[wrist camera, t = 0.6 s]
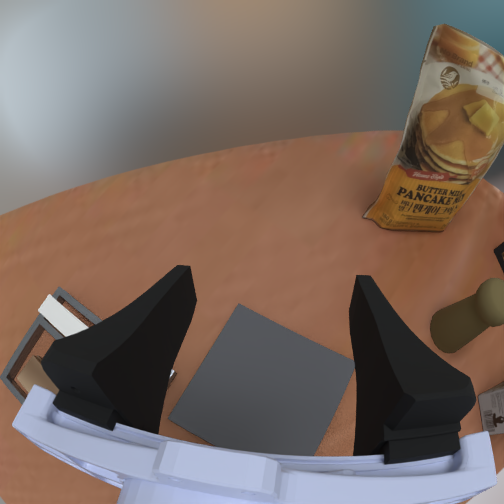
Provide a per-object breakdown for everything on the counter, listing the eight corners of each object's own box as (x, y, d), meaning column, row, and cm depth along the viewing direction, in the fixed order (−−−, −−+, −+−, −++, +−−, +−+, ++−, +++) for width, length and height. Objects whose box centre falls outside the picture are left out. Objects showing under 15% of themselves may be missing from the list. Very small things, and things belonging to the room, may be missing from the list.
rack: (110, 477, 22) (105, 479, 20) (6, 380, 25) (-1, 377, 24) (177, 372, 28) (174, 370, 27) (64, 291, 31) (59, 286, 30)
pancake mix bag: (346, 192, 42) (418, 8, 18) (445, 201, 44) (529, 69, 20) (356, 231, 39) (456, 33, 15) (459, 235, 41) (561, 102, 17)
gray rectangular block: (128, 380, 28) (104, 368, 22) (68, 332, 29) (37, 310, 23) (138, 364, 29) (116, 349, 23) (78, 318, 30) (49, 294, 24)
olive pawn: (453, 362, 30) (514, 334, 21) (423, 334, 32) (481, 297, 23) (469, 327, 33) (524, 292, 23) (441, 300, 35) (493, 258, 25)
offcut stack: (97, 456, 23) (87, 458, 21) (25, 381, 26) (14, 378, 24) (116, 430, 25) (108, 430, 23) (42, 357, 28) (32, 352, 25)
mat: (296, 481, 23) (298, 483, 23) (168, 418, 26) (167, 418, 25) (354, 363, 30) (356, 362, 30) (238, 305, 33) (238, 303, 32)
